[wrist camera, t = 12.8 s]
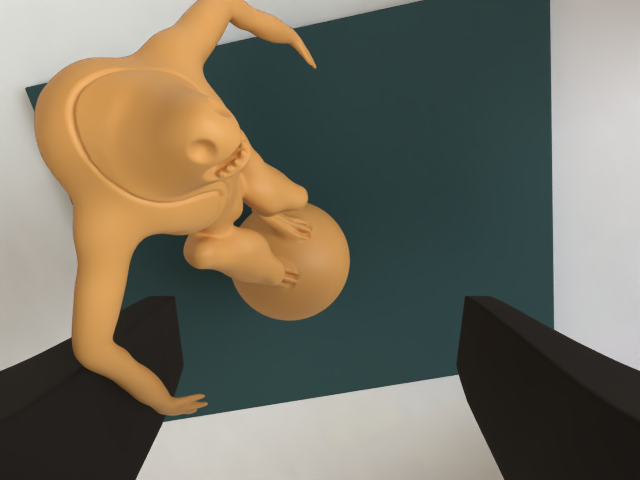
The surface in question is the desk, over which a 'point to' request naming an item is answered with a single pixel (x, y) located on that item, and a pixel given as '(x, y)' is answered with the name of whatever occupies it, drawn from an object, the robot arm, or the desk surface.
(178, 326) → the robot arm
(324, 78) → the mat
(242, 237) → the figurine
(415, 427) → the desk surface
